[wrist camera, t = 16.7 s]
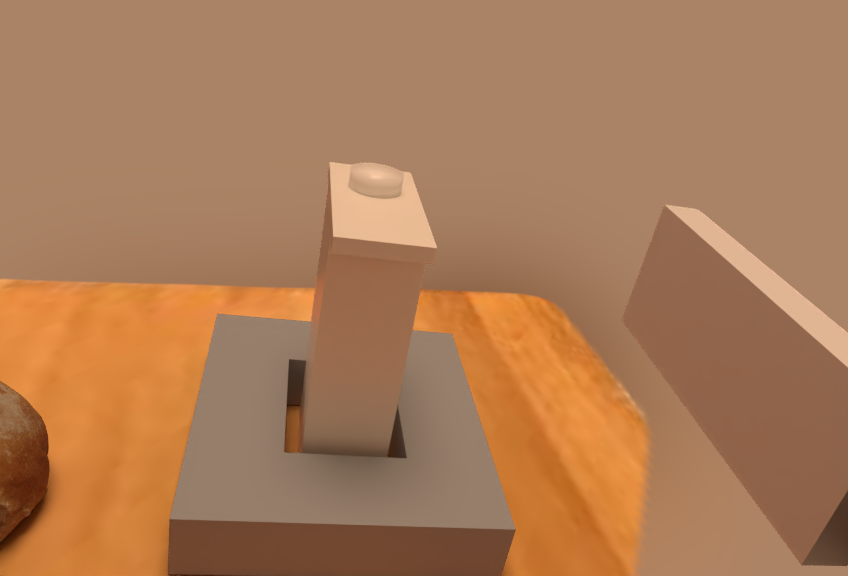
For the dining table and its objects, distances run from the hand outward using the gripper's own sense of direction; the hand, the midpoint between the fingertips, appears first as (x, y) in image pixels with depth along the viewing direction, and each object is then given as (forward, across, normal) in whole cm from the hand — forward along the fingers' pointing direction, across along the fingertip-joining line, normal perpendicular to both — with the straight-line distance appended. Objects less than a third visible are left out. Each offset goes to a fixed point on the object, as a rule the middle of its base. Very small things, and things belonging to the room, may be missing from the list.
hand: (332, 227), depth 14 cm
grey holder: (+16, +4, -20) cm, 26 cm away
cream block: (+16, +4, -20) cm, 26 cm away
